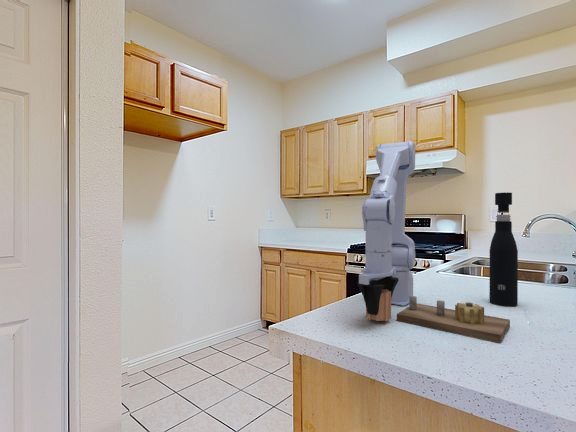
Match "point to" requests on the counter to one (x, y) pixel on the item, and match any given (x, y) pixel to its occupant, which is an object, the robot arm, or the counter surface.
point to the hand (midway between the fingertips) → (378, 311)
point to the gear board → (456, 319)
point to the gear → (382, 307)
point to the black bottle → (503, 257)
